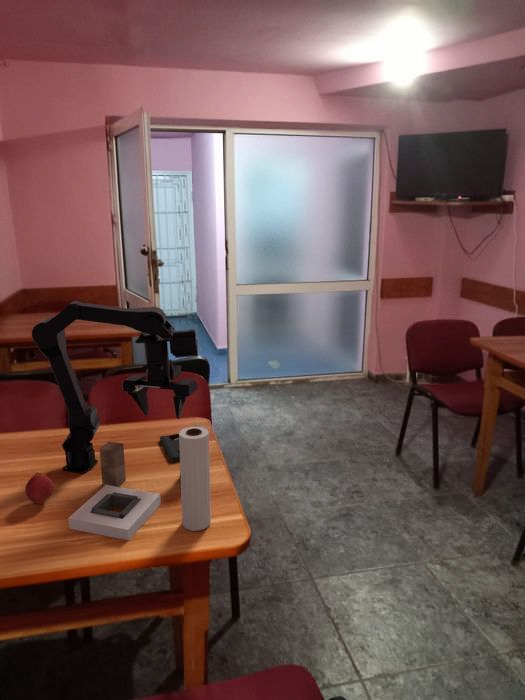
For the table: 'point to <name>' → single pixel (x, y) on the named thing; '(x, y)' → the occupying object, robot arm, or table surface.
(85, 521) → the collar block
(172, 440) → the vhs tape
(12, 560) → the table surface
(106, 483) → the walnut peg
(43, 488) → the onion
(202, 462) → the paper towel roll
